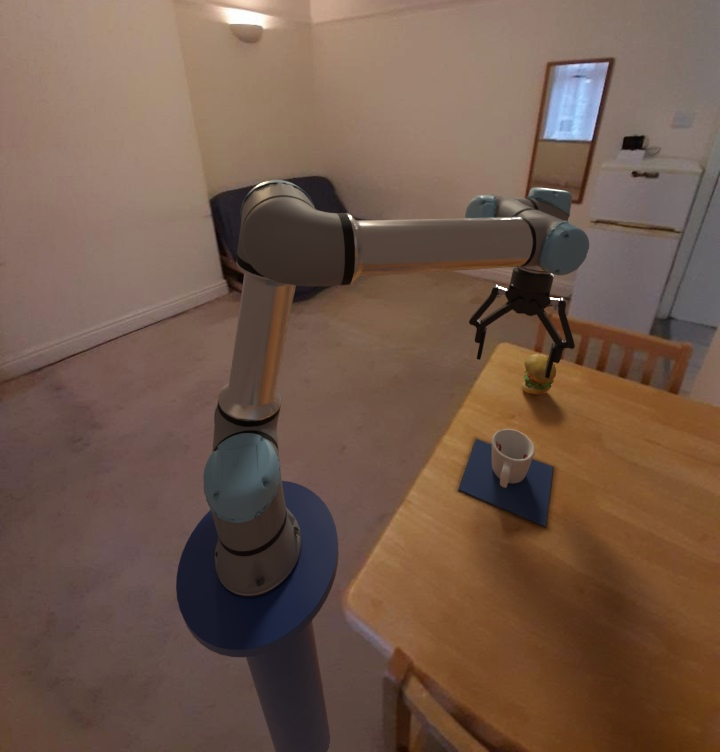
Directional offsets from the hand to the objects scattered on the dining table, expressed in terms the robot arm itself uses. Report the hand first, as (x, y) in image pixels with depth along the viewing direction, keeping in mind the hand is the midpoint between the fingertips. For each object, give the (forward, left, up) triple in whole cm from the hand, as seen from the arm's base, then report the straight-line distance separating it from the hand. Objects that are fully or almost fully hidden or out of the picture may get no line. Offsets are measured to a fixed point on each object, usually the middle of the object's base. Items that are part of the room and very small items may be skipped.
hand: (512, 365), depth 85 cm
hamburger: (+5, +17, -15) cm, 23 cm away
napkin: (+3, -12, -19) cm, 23 cm away
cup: (+3, -12, -19) cm, 22 cm away
